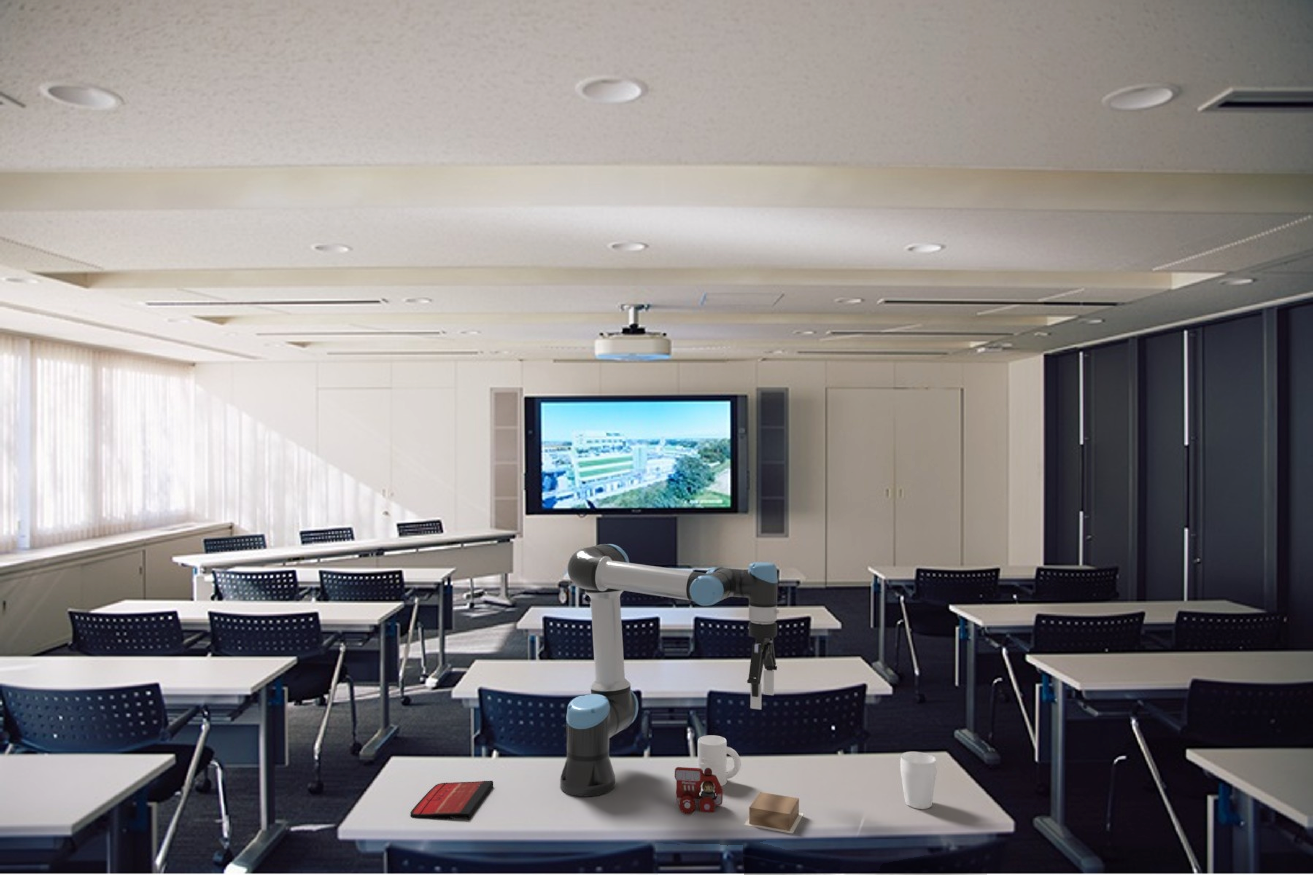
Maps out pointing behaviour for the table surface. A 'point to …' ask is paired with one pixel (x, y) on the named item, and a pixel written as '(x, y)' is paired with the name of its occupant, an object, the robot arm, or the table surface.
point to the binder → (452, 800)
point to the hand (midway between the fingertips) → (762, 701)
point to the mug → (717, 757)
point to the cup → (918, 778)
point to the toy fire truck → (697, 789)
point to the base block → (774, 811)
